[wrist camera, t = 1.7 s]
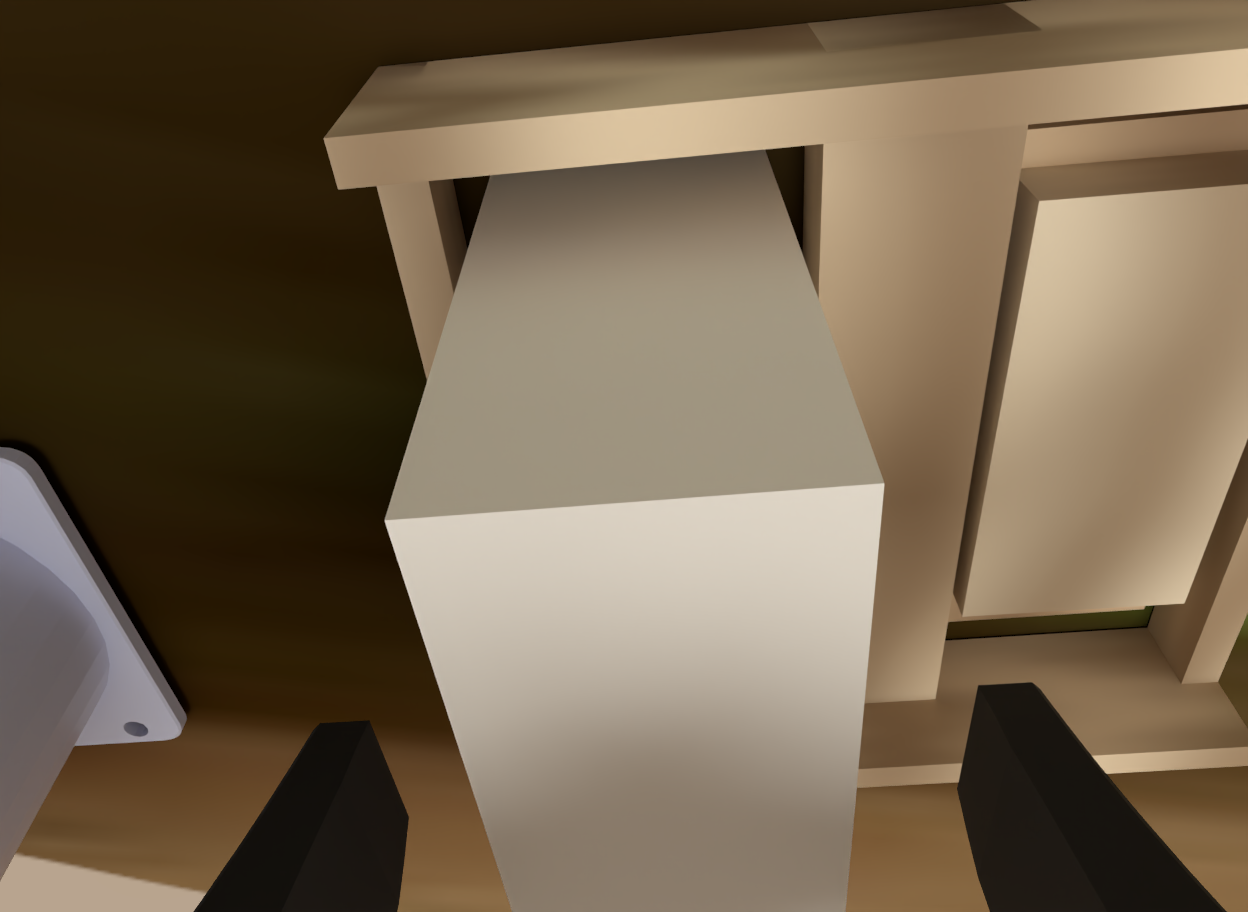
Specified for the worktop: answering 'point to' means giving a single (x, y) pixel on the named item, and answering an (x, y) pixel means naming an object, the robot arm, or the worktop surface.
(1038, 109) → the rack
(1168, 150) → the offcut lower
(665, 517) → the beige rectangular block
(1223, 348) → the offcut upper
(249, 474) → the worktop surface
